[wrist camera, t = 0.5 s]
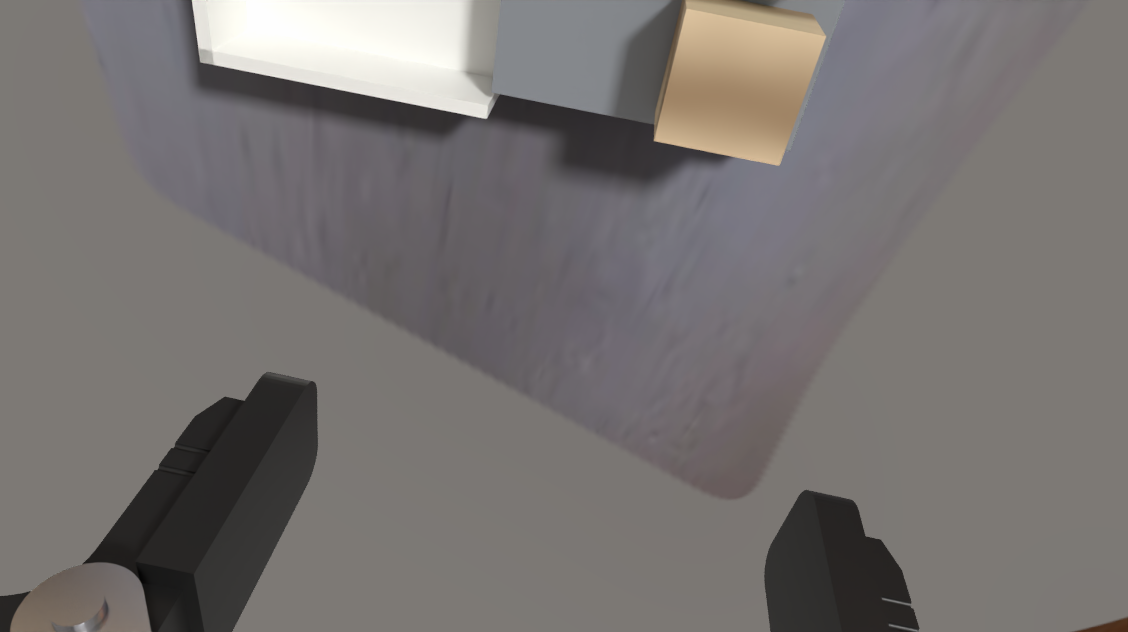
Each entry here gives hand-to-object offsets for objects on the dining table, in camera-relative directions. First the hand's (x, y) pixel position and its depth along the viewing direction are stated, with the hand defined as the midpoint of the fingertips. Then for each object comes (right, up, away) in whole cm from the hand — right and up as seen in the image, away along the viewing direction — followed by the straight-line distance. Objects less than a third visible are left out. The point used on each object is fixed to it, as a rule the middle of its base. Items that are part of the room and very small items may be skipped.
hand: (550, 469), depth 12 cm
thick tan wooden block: (+7, +13, +18) cm, 23 cm away
